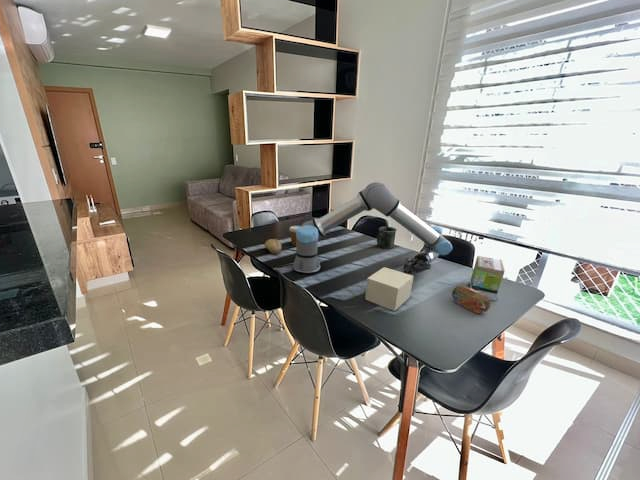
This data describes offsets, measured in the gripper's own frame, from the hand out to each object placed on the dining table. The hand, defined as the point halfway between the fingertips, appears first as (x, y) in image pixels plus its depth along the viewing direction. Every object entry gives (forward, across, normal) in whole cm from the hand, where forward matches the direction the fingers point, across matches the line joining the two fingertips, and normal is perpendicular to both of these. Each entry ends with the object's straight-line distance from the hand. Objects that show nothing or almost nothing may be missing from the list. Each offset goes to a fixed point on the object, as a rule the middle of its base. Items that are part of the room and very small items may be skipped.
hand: (404, 273), depth 139 cm
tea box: (-20, -29, -7) cm, 36 cm away
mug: (-45, +32, -7) cm, 55 cm away
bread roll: (+11, +81, -7) cm, 82 cm away
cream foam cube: (+16, 0, -7) cm, 18 cm away
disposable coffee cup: (-9, +79, -7) cm, 79 cm away
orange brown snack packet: (0, -28, -7) cm, 29 cm away
